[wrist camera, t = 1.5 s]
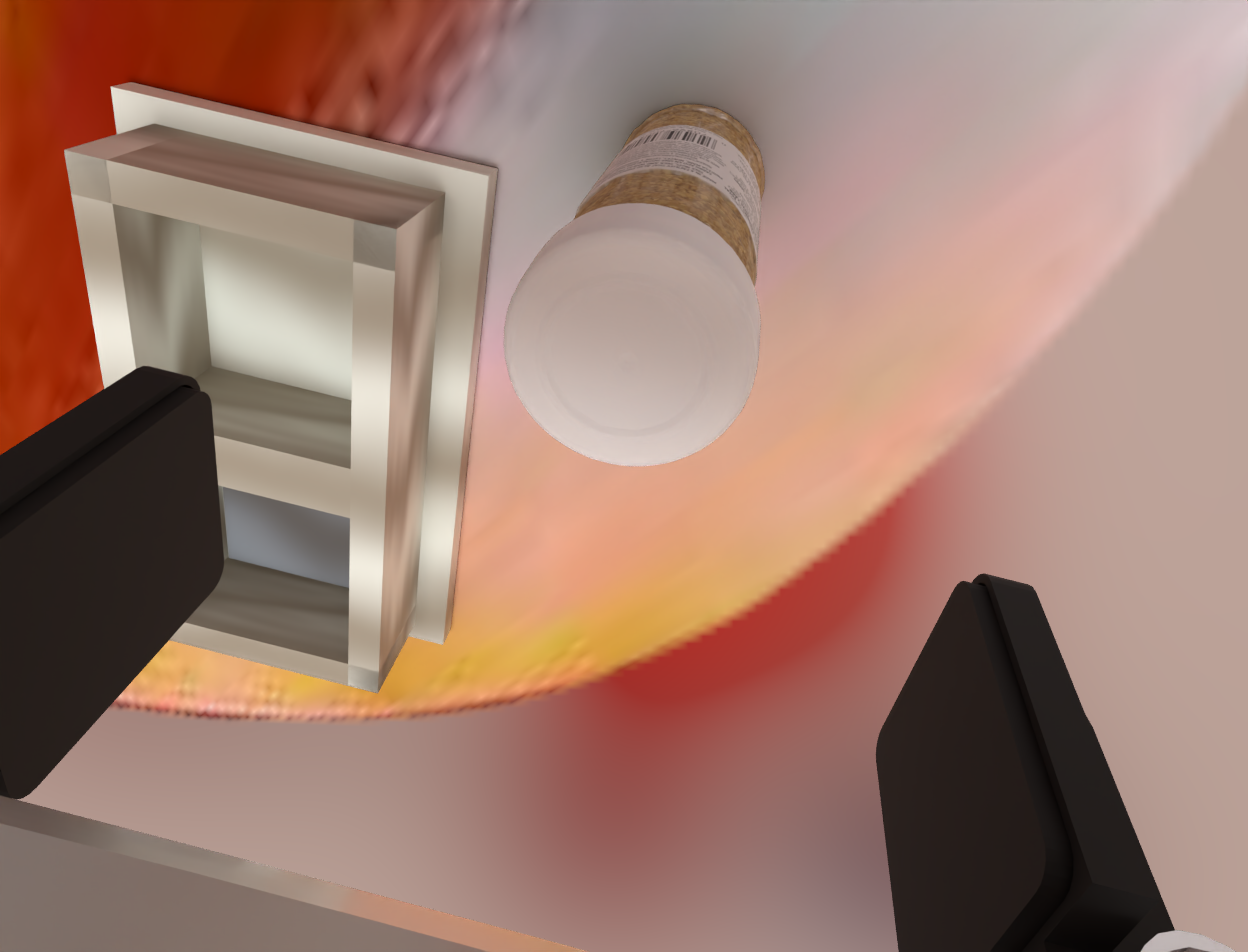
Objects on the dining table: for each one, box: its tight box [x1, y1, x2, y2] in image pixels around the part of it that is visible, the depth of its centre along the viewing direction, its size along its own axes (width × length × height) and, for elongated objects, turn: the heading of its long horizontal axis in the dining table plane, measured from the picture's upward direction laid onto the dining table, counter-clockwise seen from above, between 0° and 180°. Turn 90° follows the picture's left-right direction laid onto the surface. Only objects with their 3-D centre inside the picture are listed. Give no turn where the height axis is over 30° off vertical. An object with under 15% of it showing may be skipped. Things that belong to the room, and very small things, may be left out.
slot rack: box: [64, 82, 498, 693], centre depth 30 cm, size 20×12×5 cm, turn 169°
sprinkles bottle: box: [504, 104, 765, 466], centre depth 20 cm, size 5×5×13 cm
